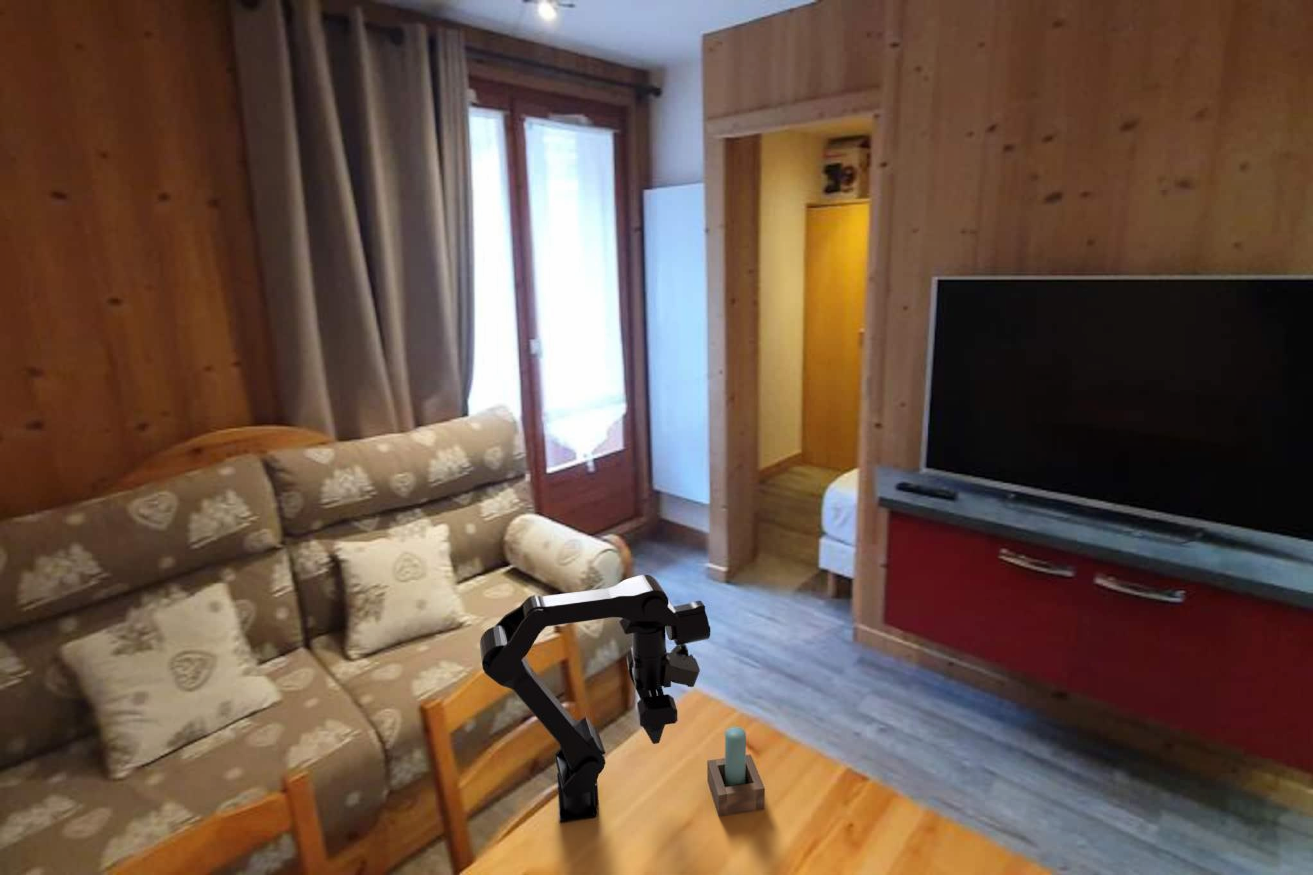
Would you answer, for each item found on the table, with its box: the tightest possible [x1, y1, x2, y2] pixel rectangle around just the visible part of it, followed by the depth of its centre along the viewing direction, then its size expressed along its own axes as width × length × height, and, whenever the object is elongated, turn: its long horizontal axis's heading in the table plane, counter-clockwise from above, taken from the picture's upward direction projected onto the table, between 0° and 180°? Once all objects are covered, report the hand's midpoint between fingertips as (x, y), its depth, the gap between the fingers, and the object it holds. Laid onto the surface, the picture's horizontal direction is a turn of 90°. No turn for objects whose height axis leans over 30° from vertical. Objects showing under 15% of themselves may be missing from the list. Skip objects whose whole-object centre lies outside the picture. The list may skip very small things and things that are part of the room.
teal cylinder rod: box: [724, 726, 747, 787], centre depth 119 cm, size 4×4×13 cm
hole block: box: [706, 753, 766, 817], centre depth 120 cm, size 8×8×4 cm
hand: (651, 724), depth 120 cm, fingers open, 9 cm apart
